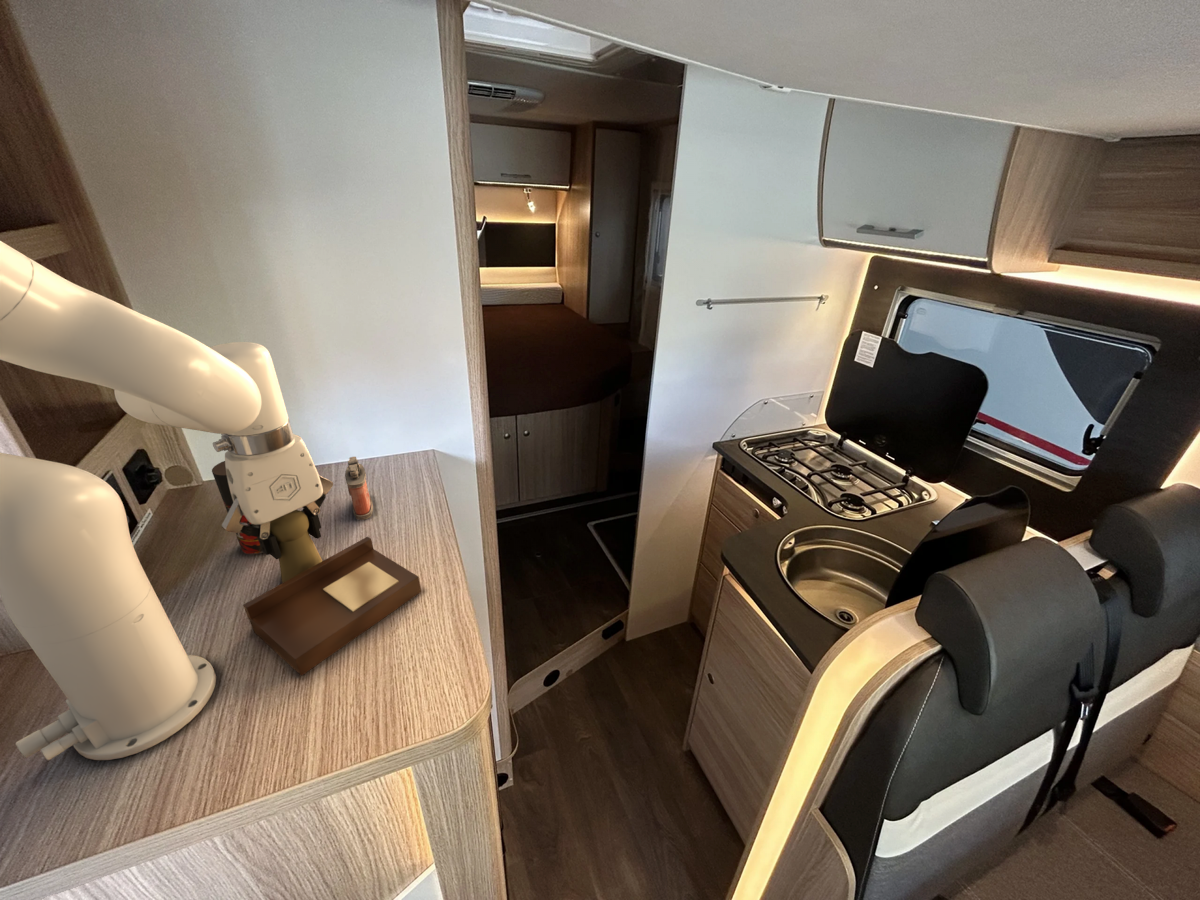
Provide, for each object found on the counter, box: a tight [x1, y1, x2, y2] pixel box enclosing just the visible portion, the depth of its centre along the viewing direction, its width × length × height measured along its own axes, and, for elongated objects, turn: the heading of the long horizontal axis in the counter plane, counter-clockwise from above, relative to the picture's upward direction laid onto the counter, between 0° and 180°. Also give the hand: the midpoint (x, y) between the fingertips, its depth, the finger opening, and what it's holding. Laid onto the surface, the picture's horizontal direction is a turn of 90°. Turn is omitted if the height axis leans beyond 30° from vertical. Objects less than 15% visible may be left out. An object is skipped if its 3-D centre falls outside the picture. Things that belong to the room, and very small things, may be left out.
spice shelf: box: [242, 536, 422, 677], centre depth 70 cm, size 18×12×5 cm, turn 146°
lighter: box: [344, 456, 374, 521], centre depth 91 cm, size 8×3×10 cm, turn 25°
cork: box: [270, 509, 323, 584], centre depth 75 cm, size 6×6×11 cm
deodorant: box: [211, 460, 264, 555], centre depth 80 cm, size 6×6×15 cm
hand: (294, 543), depth 75 cm, fingers closed on cork, 5 cm apart
